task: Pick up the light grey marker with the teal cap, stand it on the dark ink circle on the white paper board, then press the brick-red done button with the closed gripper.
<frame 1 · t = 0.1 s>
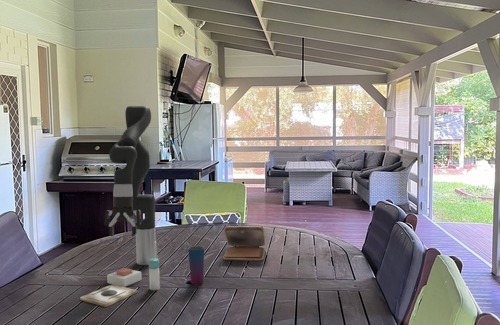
hand: (122, 236, 184), 22 cm above the table, tool pointing down, fingers open, 8 cm apart
case: (244, 255, 233), on the table
button housing: (124, 281, 196), on the table
done button: (124, 273, 196), point 4 cm above the table, slide at 0.0 cm
paper board: (109, 296, 179), on the table
marker: (154, 288, 187), on the table
cup: (197, 282, 194), on the table
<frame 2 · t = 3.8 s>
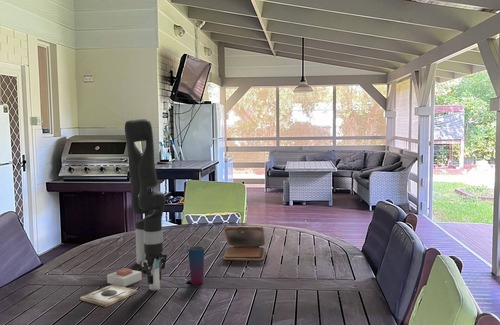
hand: (154, 281, 187), 3 cm above the table, tool pointing down, fingers closed on marker, 4 cm apart
marker: (154, 288, 187), on the table, touching gripper
everything else where it was.
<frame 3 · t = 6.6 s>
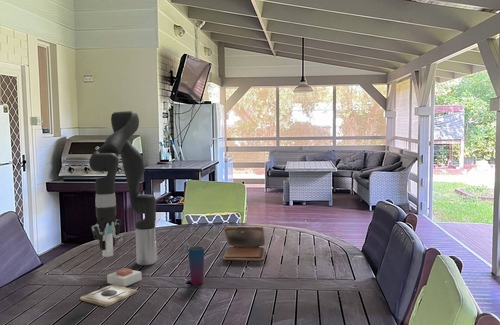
hand: (107, 248, 178), 19 cm above the table, tool pointing down, fingers closed on marker, 4 cm apart
marker: (108, 255, 178), point 16 cm above the table, touching gripper
everything else where it was.
when the fingers open (5 cm above the table, at t = 10.0 s): marker stays where it is, resting on paper board.
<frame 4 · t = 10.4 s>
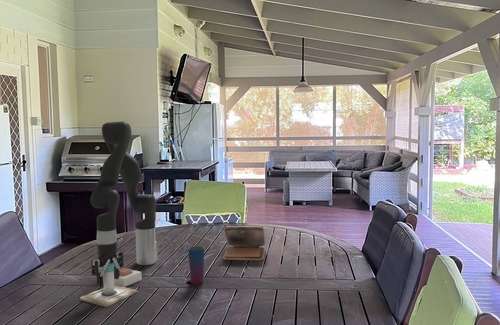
hand: (108, 281, 179), 6 cm above the table, tool pointing down, fingers open, 7 cm apart
marker: (109, 292, 179), point 1 cm above the table, touching paper board
everything else where it was.
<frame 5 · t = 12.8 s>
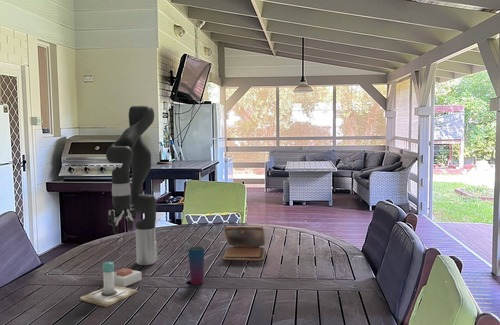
hand: (123, 231, 194), 22 cm above the table, tool pointing down, fingers open, 7 cm apart
nothing on the table moved.
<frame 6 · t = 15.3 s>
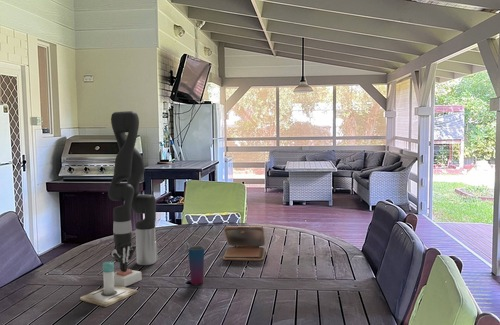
hand: (123, 270, 195), 5 cm above the table, tool pointing down, fingers closed
done button: (124, 273, 196), point 3 cm above the table, slide at 0.3 cm, touching gripper
everything else where it was.
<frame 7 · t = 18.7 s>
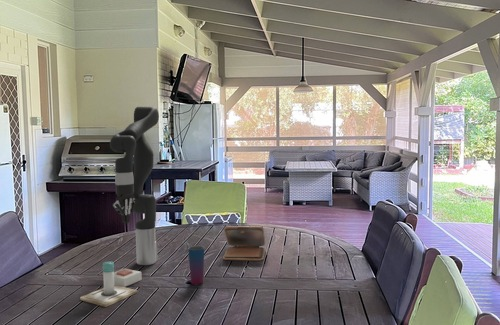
hand: (126, 223, 195), 25 cm above the table, tool pointing down, fingers closed
done button: (124, 274, 196), point 3 cm above the table, slide at 0.8 cm
everything else where it was.
at the end: marker inside the target area on the paper board (0.1 cm from its centre), point 1.3 cm above the paper board's base; marker tilted 0°; done button slide at 0.8 cm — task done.
